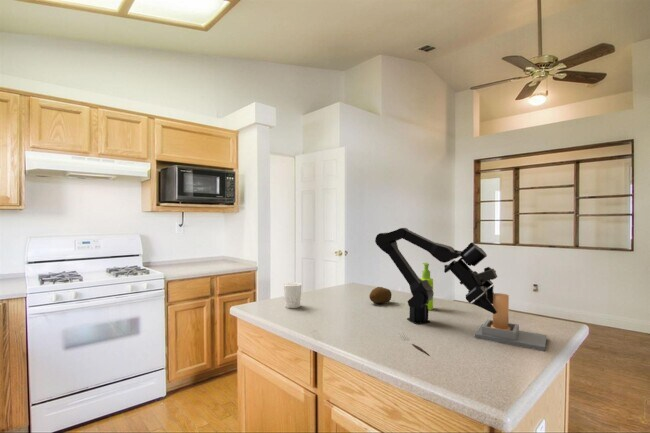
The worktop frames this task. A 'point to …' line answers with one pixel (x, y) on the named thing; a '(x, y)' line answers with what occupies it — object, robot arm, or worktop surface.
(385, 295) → the potato
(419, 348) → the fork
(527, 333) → the housing
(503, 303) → the orange knob handle
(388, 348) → the worktop surface
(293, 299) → the white cup
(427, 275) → the soap dispenser
